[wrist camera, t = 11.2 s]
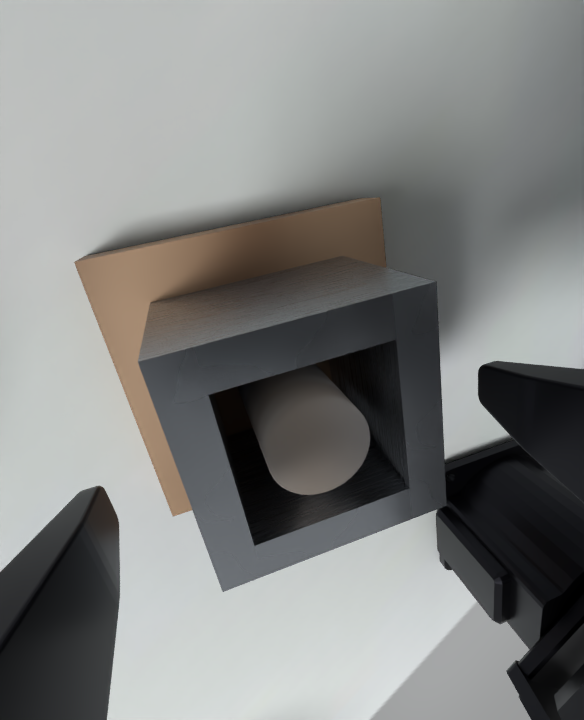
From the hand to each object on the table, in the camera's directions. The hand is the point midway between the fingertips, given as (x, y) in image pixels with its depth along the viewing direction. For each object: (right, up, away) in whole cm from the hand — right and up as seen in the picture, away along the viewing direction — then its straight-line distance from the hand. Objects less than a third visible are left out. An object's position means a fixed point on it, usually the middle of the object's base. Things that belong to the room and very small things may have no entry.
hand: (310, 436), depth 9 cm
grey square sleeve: (-1, +2, +4) cm, 5 cm away
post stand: (-2, +2, +5) cm, 6 cm away
